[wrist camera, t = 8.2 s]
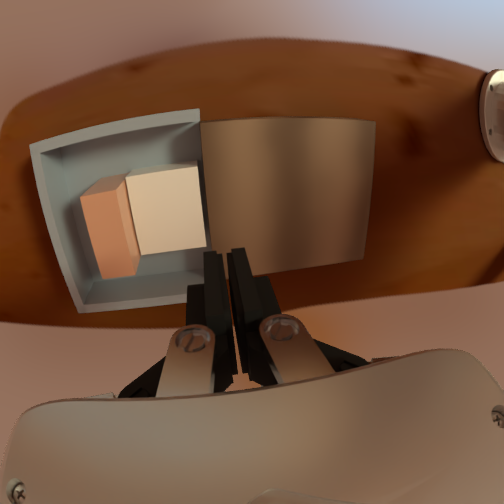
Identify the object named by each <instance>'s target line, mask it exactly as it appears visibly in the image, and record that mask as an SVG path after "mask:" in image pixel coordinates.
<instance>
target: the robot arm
mask: <svg viewBox="0 0 504 504" xmlns="http://www.w3.org/2000/svg"><path fill="white" fill-rule="evenodd" d="M479 115H480V125H481V131H482V135H483V139H484V142H485V145H486V147H487V149H488V151H489V153H490V154H491V155H492V157H493V158H495V159H496V160H498V161H500V162H503V163H504V70H499V69H495V70H492V71H491V72H489V73H488V75H487V76H486V78H485V80H484V82H483V85H482V89H481V93H480V101H479ZM226 255H227V266H228V276H229V286H230V296H231V306H232V313H233V320H234V326H235V332H236V338H237V343H238V349H239V355H240V361H241V367H242V372H243V373H248V375H249V379H250V381H255V382H256V383H258V384H260V385H261V387H259V388H252V389H245V390H237V391H229V392H225V390H226V388H228V387H229V386H230V385H231V384H232V383H233V377H232V375H235V374H238V370H237V361H236V353H235V345H234V336H233V327H232V319H231V311H230V304H229V297H228V291H227V284H226V277H225V270H224V263H223V256H222V253H220V254H217V251H207V252H203V263H204V283H203V284H193V285H188V286H187V303H186V326H184V327H182V328H180V329H178V330H177V331H176V332H175V333H174V334H173V335H172V338H171V340H170V343H169V348H168V351H167V355H166V356H165V357H164V358H163V359H161V360H160V361H159V362H157V363H156V364H155V365H153V366H152V367H151V368H150V369H148V370H147V371H146V372H144V373H143V374H142V375H141V376H139V377H138V378H137V379H135V380H134V381H133V382H131V383H130V384H129V385H127V386H126V387H125V388H124V389H123V390H122V391H121V392H120V394H119V395H114V394H113V393H107V394H102V395H97V396H91V397H86V398H72V399H61V400H55V401H49V402H46V403H42V404H38V405H36V406H33V407H31V408H29V409H27V410H26V411H25V412H24V413H22V414H21V415H20V417H19V418H18V419H17V421H16V423H15V425H14V427H13V429H12V431H11V434H10V436H9V439H8V442H7V445H6V448H5V452H4V456H3V460H2V464H1V468H0V504H504V390H503V389H502V387H501V386H500V385H499V383H498V382H497V381H496V379H495V378H494V377H493V376H492V374H491V373H490V372H489V371H488V370H487V369H486V367H485V366H484V365H483V364H482V363H481V362H480V361H479V360H478V359H476V358H475V357H474V356H472V355H471V354H470V353H468V352H465V351H462V350H458V349H431V350H424V351H419V352H414V353H410V354H406V355H403V356H394V357H382V358H372V359H371V361H370V362H367V361H366V360H365V359H363V358H361V357H359V356H356V355H354V354H351V353H348V352H346V351H343V350H340V349H338V348H335V347H333V346H330V345H328V344H325V343H323V342H320V341H317V340H315V339H313V338H312V337H311V335H310V334H309V332H308V331H307V329H306V328H305V326H304V325H303V323H302V322H301V321H300V320H299V319H298V318H296V317H294V316H291V315H287V314H282V313H281V310H280V308H279V305H278V302H277V299H276V297H275V294H274V291H273V288H272V286H271V283H270V280H269V278H268V276H263V277H255V278H253V275H252V271H251V268H250V264H249V261H248V257H247V254H246V250H245V247H243V248H234V249H231V252H230V253H226Z"/></svg>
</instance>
